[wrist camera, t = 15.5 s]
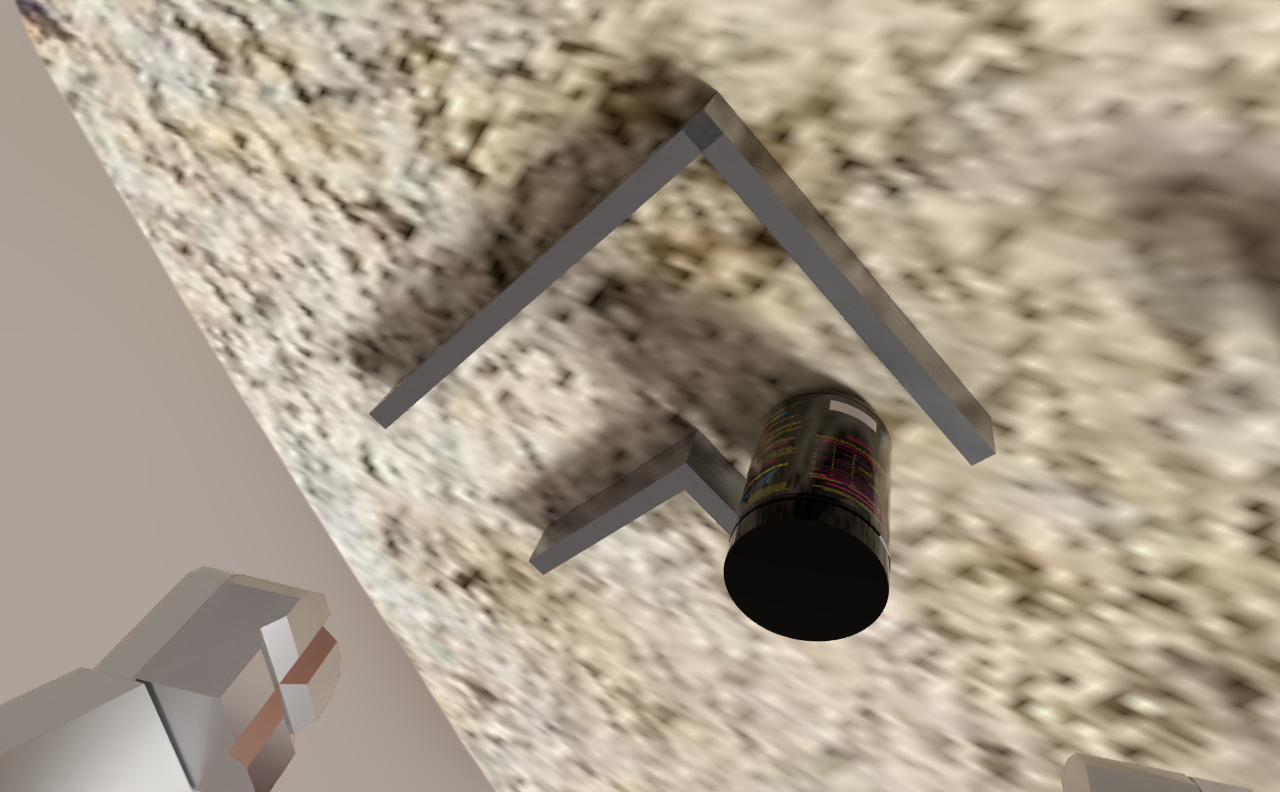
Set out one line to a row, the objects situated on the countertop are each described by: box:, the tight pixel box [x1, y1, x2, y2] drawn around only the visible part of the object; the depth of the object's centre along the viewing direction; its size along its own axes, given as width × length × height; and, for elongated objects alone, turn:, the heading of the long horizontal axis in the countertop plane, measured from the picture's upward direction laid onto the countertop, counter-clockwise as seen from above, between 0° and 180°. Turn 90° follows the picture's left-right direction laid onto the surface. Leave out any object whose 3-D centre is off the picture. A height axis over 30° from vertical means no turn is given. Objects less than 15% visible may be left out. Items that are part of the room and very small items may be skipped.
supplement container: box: [724, 390, 892, 641], centre depth 40 cm, size 7×7×10 cm
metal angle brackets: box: [369, 91, 996, 575], centre depth 44 cm, size 20×25×3 cm
